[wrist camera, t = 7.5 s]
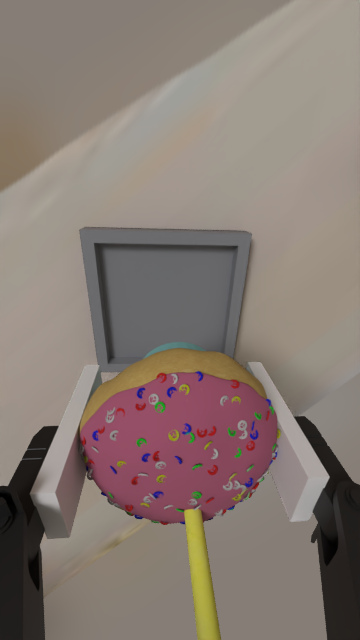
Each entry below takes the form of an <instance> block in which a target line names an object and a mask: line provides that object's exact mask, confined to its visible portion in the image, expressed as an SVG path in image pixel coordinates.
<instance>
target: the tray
mask: <svg viewBox="0 0 360 640" xmlns="http://www.w3.org/2000/svg"><path fill="white" fill-rule="evenodd" d="M79 231H80V238H81V246H82V253H83V260H84V267H85V275H86V282H87V289H88V296H89V304H90V311H91V318H92V325H93V333H94V340H95V347H96V354H97V362H98V365H100V371H101V372H122V371H123V370H125V369H126V368H127V367H128V366H130V365H132V364H134V363H136V362H138V361H140V360H142V359H143V358H144V357H145V356H146V355H147V354H148V353H149V352H150V351H152V350H153V349H155V348H157V347H159V346H161V345H164V344H167V343H172V342H186V343H191V344H194V345H197V346H199V347H201V348H203V349H204V350H206V351H216V352H220V353H223V354H226V355H228V356H229V357H231V358H232V359H233V356H234V349H235V342H236V336H237V329H238V322H239V316H240V309H241V302H242V296H243V289H244V283H245V276H246V269H247V263H248V256H249V249H250V243H251V236H252V234H251V233H249V232H247V231H229V230H187V229H145V228H104V227H84V228H82V229H80V230H79Z"/></svg>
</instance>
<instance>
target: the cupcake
mask: <svg viewBox="0 0 360 640" xmlns="http://www.w3.org/2000/svg"><path fill="white" fill-rule="evenodd" d="M277 431H278V433H279V436H278V433H277ZM280 436H281V432H280V430H279V429H277V415H276V412H275V410H274V408H273V406H272V404H271V400H270V399H268V398H267V395H266V392H265V389H264V387H263V385H262V383H261V382H260V381H259V380H258V379H257V378H256V377H255V376H253V375H252V374H251V373H250V372H249V371H247V370H246V369H245V368H243V367H242V366H241V365H240V364H238V363H237V362H236V361H235V360H234V359H232V358H231V357H229V356H228V355H226V354H223V353H220V352H216V351H206V350H204V349H203V348H201V347H199V346H197V345H194V344H191V343H186V342H172V343H167V344H164V345H161V346H159V347H157V348H155V349H153V350H152V351H150V352H149V353H148V354H147V355H146V356H145V357H144V358H143V359H142V360H140V361H138V362H136V363H134V364H132V365H130V366H128V367H127V368H126V369H125V370H123V371H122V372H121V373H120V374H119V375H117V376H116V377H115V378H113V379H112V380H109V381H107V382H104V383H103V384H101V385H100V386H99V387H98V388H97V389H96V391H95V392H94V394H93V395H92V397H91V399H90V400H89V402H88V404H87V406H86V408H85V411H84V413H83V416H82V419H81V423H80V445H79V453H82V454H80V455H81V459H82V460H83V461H84V462H85V465H86V470H87V471H88V473H87V478H88V479H89V480H94V481H95V483H96V484H97V486H98V487H99V488H100V490H101V491H102V492H101V494H102V495H104V496H107V498H108V499H107V500H108V502H109V503H110V504H111V505H114V506H115V507H118V508H120V509H122V510H125V511H126V512H127V514H128V515H130V516H133V515H135V518H137V519H142V518H146V519H149V520H151V522H154V523H161V524H163V525H167V524H171V523H182V524H185V525H186V533H187V544H188V553H189V562H190V571H191V580H192V589H193V599H194V609H195V618H196V627H197V637H198V640H221V636H220V630H219V623H218V617H217V611H216V604H215V597H214V591H213V585H212V578H211V572H210V565H209V558H208V552H207V545H206V539H205V532H204V527H203V522H204V521H208V520H211V519H213V517H214V516H216V515H218V516H223V514H224V513H225V512H226V510H233V509H234V507H235V504H237V503H238V502H242V501H244V500H246V499H248V497H249V498H250V497H251V495H252V493H254V492H255V489H256V488H257V487H258V485H259V482H261V481H263V480H264V476H265V475H266V474H268V473H269V469H268V468H269V467H270V465H271V463H272V462H273V460H276V457H277V450H278V446H276V444H277V439H278V438H280ZM80 449H81V450H80ZM82 457H83V458H82ZM272 459H273V460H272ZM89 476H91V478H90V477H89ZM110 501H111V502H110ZM112 502H113V503H112ZM137 516H139V517H137Z"/></svg>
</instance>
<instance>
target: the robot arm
mask: <svg viewBox="0 0 360 640" xmlns="http://www.w3.org/2000/svg"><path fill="white" fill-rule="evenodd" d="M246 370H247V371H249V372H250V373H251V374H252V375H253V376H255V377H256V378H257V379H258V380H259V381H260V382H261V383H262V385H263V387H264V389H265V392H266V395H267V398H268V399H270V400H271V404H272V406H273V408H274V410H275V412H276V415H277V429H279V430H280V432H281V436H280V438H278V439H277V444H276V446H278V450H277V457H276V460H273V459H272V460H273V462H272V463H271V465H270V467H269V470H270V473H271V475H272V478H273V480H274V483H275V485H276V488H277V490H278V493H279V495H280V498H281V500H282V503H283V505H284V508H285V510H286V513H287V515H288V518H289V520H290V522H292V521H308V520H309V519H310V517H311V515H312V513H314V515H315V517H316V519H317V521H318V524H317V526H316V528H315V530H314V532H313V534H312V537H311V542H312V543H314V542H315V541H316V539H317V543H318V553H319V563H320V572H321V582H322V592H323V601H324V611H325V621H326V631H327V640H360V485H359V484H356V483H354V482H353V481H352V480H351V478H350V477H349V476H348V474H347V472H346V471H345V470H344V468H343V467H342V465H341V464H340V462H339V461H338V459H337V458H336V456H335V455H334V453H333V452H332V450H331V449H330V447H329V446H327V443H326V441H325V440H324V438H323V437H322V436H321V434H320V432H319V431H318V429H317V428H316V426H315V425H314V424H313V423H312V422H311V421H309V420H308V419H307V418H306V417H305V416H300V417H293V415H292V413H291V412H290V410H289V408H288V407H287V405H286V403H285V402H284V400H283V398H282V397H281V395H280V393H279V392H278V390H277V388H276V387H275V385H274V383H273V382H272V380H271V379H270V377H269V375H268V374H267V372H266V370H265V369H264V367H263V365H262V364H261V362H248V363H247V368H246ZM101 384H102V379H101V371H100V365H85V367H84V369H83V372H82V374H81V376H80V379H79V381H78V383H77V386H76V388H75V390H74V393H73V395H72V397H71V399H70V402H69V404H68V406H67V409H66V411H65V413H64V416H63V418H62V420H61V423H60V425H59V426H44V427H43V428H42V429H41V430H40V431H39V432H38V433H37V434H36V435H35V436H34V437H33V439H32V440H31V442H30V444H29V446H28V448H27V451H26V452H25V454H24V456H23V458H22V461H21V462H20V464H19V466H18V467H17V469H16V471H15V473H14V475H13V477H12V479H11V481H10V483H9V485H8V486H0V640H45V629H44V607H43V606H44V605H43V581H42V557H41V549H40V543H41V540H42V537H43V534H44V531H45V534H46V536H47V539H54V538H68V537H70V533H71V530H72V526H73V522H74V518H75V514H76V510H77V507H78V503H79V499H80V495H81V491H82V488H83V484H84V480H85V476H86V472H87V470H86V465H85V462H84V461H83V460H82V459H81V455H80V454H82V453H79V445H80V423H81V419H82V416H83V413H84V411H85V408H86V406H87V404H88V402H89V400H90V399H91V397H92V395H93V394H94V392H95V391H96V389H97V388H98V387H99V386H100V385H101ZM277 433H278V431H277ZM278 436H279V433H278ZM80 450H81V449H80ZM82 458H83V457H82Z"/></svg>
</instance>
